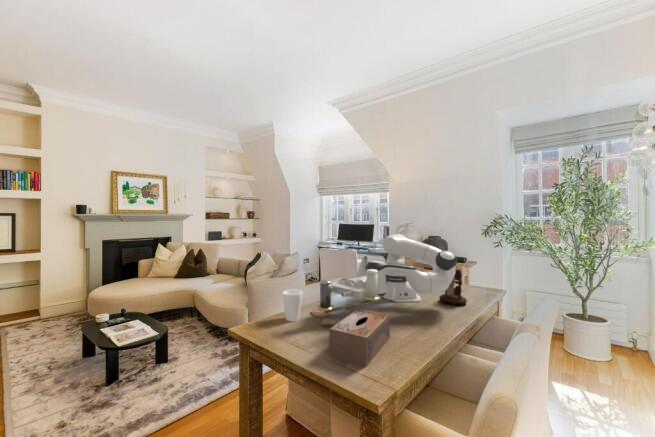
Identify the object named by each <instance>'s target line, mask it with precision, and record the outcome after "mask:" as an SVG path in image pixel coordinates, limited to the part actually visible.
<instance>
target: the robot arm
mask: <svg viewBox="0 0 655 437" xmlns="http://www.w3.org/2000/svg"><path fill="white" fill-rule="evenodd" d="M381 248H382V249H383V251H384V252H386V253H388V254H387V258H386V261H380V260H371V261H368V262H367V264H366V265H365V267H364V271H366V270H367V269H375V270H378V278H377V295H379V296H380V297H381V298H384V299H386V300H389V301H392V302H395V303H396V302H397V303H401V302H402V303H403V302H405V303H406V302H409V303H411V302H421V301H422V298H421V296H420V295H419V294H422V295H424V294H426V295H427V294H436V293H440V292H445V290H446V289H448V288H449V287H450V285H451V284H452V280H453V278H454V275H455V271H456V270H457V269H456V268H457V264H458V258H457V255H456V254H455V253H453V252H452V251H449V250H441V249H440V248H437V247H435V246H433V245H430V244H427V243H424V242H421V241H417V240H415V239H414V240H413V239H409V238H407V237H406V236H405V235H404V234H402V233H395V234H389V235H387V236H386V237H385V238H384V239H382V242H381ZM406 258H408V259H411V260H414V261H417V262H419V263H422V264H425V265H428V266H431V267H432V271H431V270H430V271H429V270H428V271H421V270H419V269H417V267H416V266H413V265H410V264H405V260H406ZM332 293H333V294H339V295H341V297H342V298H347V297H350V298H354V299H361V298H363V295H366V275H363V276H359V277H353V278H349V279H347V278H346V279H345V278H340V279H339V280H337V281H333V282H332V281H331V294H332Z"/></svg>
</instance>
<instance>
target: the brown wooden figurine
mask: <svg viewBox="0 0 655 437" xmlns="http://www.w3.org/2000/svg"><path fill="white" fill-rule="evenodd" d="M462 278H463V274H462V271H461V269H455V275H454V278H453V280H452V284H451V285H450V287H449V288H448V289H446V290H444V293H443V294H440V295H439V297H438V298H439V301H440V302H441V301H442V302H444V303H449V304H452V306H453V307H454V306H455V305H463V304H465V305H466V304H467V303H468V302H467V300H468V299H467V298H466V297H464V296H462V295H461V294H462V292H463V291H462V285H463V281H462ZM455 284H457V285H456V286H455Z"/></svg>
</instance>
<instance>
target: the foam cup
mask: <svg viewBox="0 0 655 437" xmlns="http://www.w3.org/2000/svg"><path fill="white" fill-rule="evenodd" d="M282 299H283V305H284V314H285V315H284V316H285V319H286V322H298V321H299V320H300V313H301V307H302V301H303V300H302V299H303V291H302V290H299V289H287V290H283V292H282Z"/></svg>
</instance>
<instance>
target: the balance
mask: <svg viewBox="0 0 655 437" xmlns="http://www.w3.org/2000/svg"><path fill="white" fill-rule="evenodd" d="M381 298H382V297H380V296H379V295H377V298H368V297H366V295H363V297H362V299H363V300H364V301H361V302H355V303H351V304H350V303H346V304H345V305H342V306H337V307H335V306H334V305H332V304H331V307H330V308H327V309H324V308H320V304H318V305H317V306H316V308H317V310H319V311H324V312H325V313H328V312H331V313H333V312H336V311H342V310H345V317H347V316H348V315H350V314H351V308H355V307H361V306H366V305H370V304H372V303H373V302H377V301H380V300H381ZM341 320H342V319H335V318H334V319H333V318H323V319H322V320H321V323H320V324H321V325H320V327H329V328H331V327H333V326H334V325H336V324H337V323H338V322H340V321H341Z"/></svg>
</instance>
